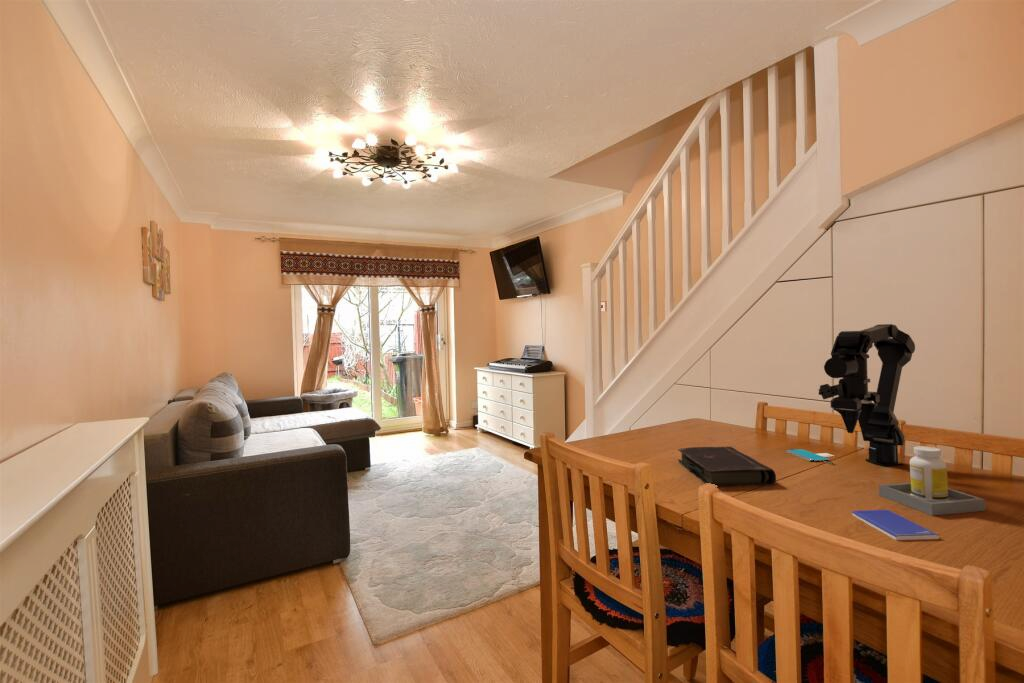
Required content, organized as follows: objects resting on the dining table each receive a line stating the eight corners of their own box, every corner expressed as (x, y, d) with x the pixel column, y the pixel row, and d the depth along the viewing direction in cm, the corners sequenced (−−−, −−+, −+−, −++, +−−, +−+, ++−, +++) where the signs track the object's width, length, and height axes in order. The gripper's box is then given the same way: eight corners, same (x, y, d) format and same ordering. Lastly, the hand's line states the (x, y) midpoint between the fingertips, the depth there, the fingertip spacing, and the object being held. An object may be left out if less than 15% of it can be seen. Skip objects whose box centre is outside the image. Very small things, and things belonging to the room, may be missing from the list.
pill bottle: (954, 499, 107) (952, 449, 107) (940, 505, 104) (938, 453, 104) (919, 491, 113) (917, 443, 112) (905, 496, 110) (903, 447, 110)
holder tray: (926, 490, 115) (926, 480, 115) (985, 510, 102) (984, 499, 102) (879, 495, 114) (878, 485, 114) (932, 515, 101) (931, 504, 101)
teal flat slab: (856, 465, 140) (856, 460, 140) (818, 468, 139) (818, 462, 139) (808, 449, 160) (808, 444, 160) (775, 451, 159) (775, 446, 159)
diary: (733, 460, 149) (733, 445, 149) (776, 486, 124) (775, 468, 124) (675, 463, 150) (674, 447, 150) (706, 489, 125) (705, 470, 125)
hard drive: (938, 533, 91) (889, 509, 103) (895, 534, 91) (851, 510, 103) (939, 541, 91) (889, 516, 103) (895, 542, 91) (852, 517, 103)
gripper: (835, 371, 143) (836, 421, 143) (808, 376, 132) (810, 431, 132) (879, 372, 134) (881, 426, 134) (855, 379, 123) (857, 437, 123)
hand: (856, 430), depth 131 cm, fingers open, 9 cm apart
